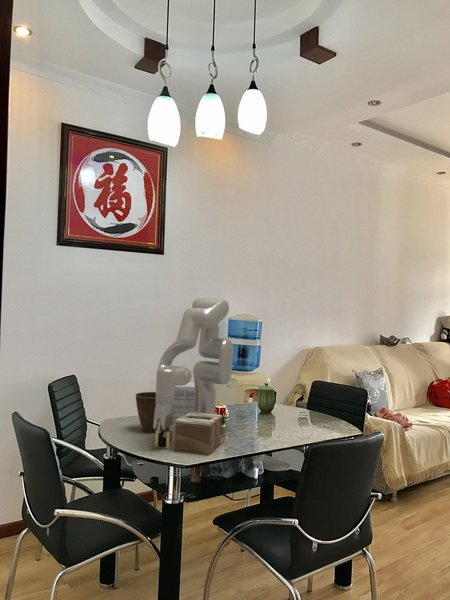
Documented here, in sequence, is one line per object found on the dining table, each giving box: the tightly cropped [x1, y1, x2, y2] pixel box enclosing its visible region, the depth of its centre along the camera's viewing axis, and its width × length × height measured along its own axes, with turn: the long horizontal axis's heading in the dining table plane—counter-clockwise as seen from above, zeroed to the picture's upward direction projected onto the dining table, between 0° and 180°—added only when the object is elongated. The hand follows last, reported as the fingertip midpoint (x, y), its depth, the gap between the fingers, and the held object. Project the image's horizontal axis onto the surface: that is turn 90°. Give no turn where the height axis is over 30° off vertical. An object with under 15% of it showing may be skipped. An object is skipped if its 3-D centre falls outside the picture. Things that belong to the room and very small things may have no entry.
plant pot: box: [135, 391, 157, 433], centre depth 228 cm, size 15×15×16 cm
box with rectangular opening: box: [174, 412, 223, 456], centre depth 204 cm, size 16×14×12 cm
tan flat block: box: [154, 430, 173, 450], centre depth 203 cm, size 2×6×6 cm, turn 74°
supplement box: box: [173, 382, 195, 423], centre depth 252 cm, size 13×13×18 cm
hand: (163, 445), depth 203 cm, fingers closed on tan flat block, 2 cm apart
